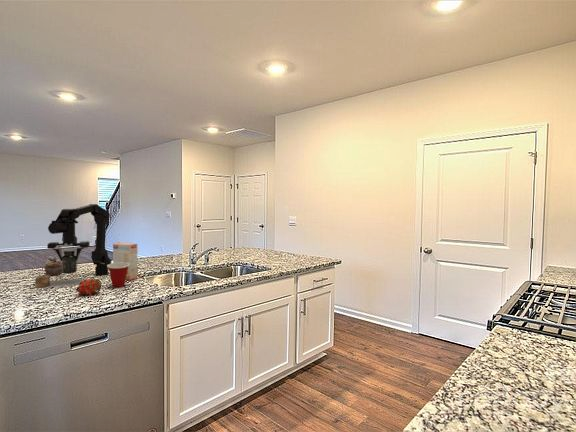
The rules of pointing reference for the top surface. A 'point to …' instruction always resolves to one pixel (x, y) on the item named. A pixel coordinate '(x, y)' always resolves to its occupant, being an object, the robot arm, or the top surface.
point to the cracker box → (126, 257)
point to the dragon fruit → (88, 287)
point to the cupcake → (53, 267)
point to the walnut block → (42, 281)
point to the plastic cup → (118, 273)
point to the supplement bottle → (69, 262)
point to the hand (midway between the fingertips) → (69, 260)
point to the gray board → (64, 283)
